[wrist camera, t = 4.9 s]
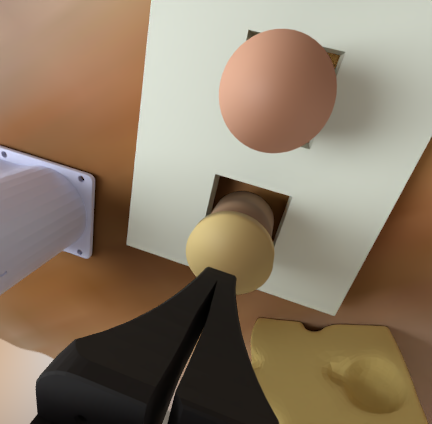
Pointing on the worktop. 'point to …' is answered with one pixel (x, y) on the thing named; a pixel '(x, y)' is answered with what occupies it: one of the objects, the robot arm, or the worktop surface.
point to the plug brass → (235, 240)
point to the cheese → (333, 374)
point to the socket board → (295, 159)
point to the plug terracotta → (277, 91)
